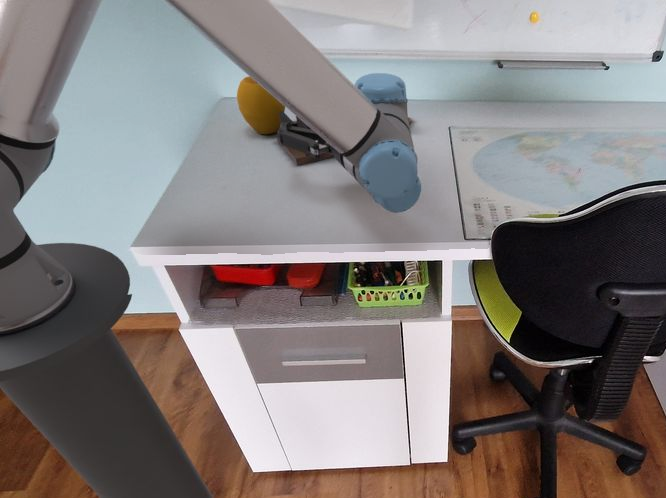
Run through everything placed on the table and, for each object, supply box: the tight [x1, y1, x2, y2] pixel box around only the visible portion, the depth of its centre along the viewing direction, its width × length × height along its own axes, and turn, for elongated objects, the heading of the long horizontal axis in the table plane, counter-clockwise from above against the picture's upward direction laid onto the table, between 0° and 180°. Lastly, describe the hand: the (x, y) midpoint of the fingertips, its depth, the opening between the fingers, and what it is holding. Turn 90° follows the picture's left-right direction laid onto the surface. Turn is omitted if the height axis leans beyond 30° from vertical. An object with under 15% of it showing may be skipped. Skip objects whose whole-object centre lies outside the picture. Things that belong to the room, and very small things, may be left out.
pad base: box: [276, 120, 335, 166], centre depth 115 cm, size 12×12×4 cm
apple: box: [236, 75, 286, 135], centre depth 117 cm, size 10×10×12 cm
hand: (315, 111), depth 106 cm, fingers open, 13 cm apart
